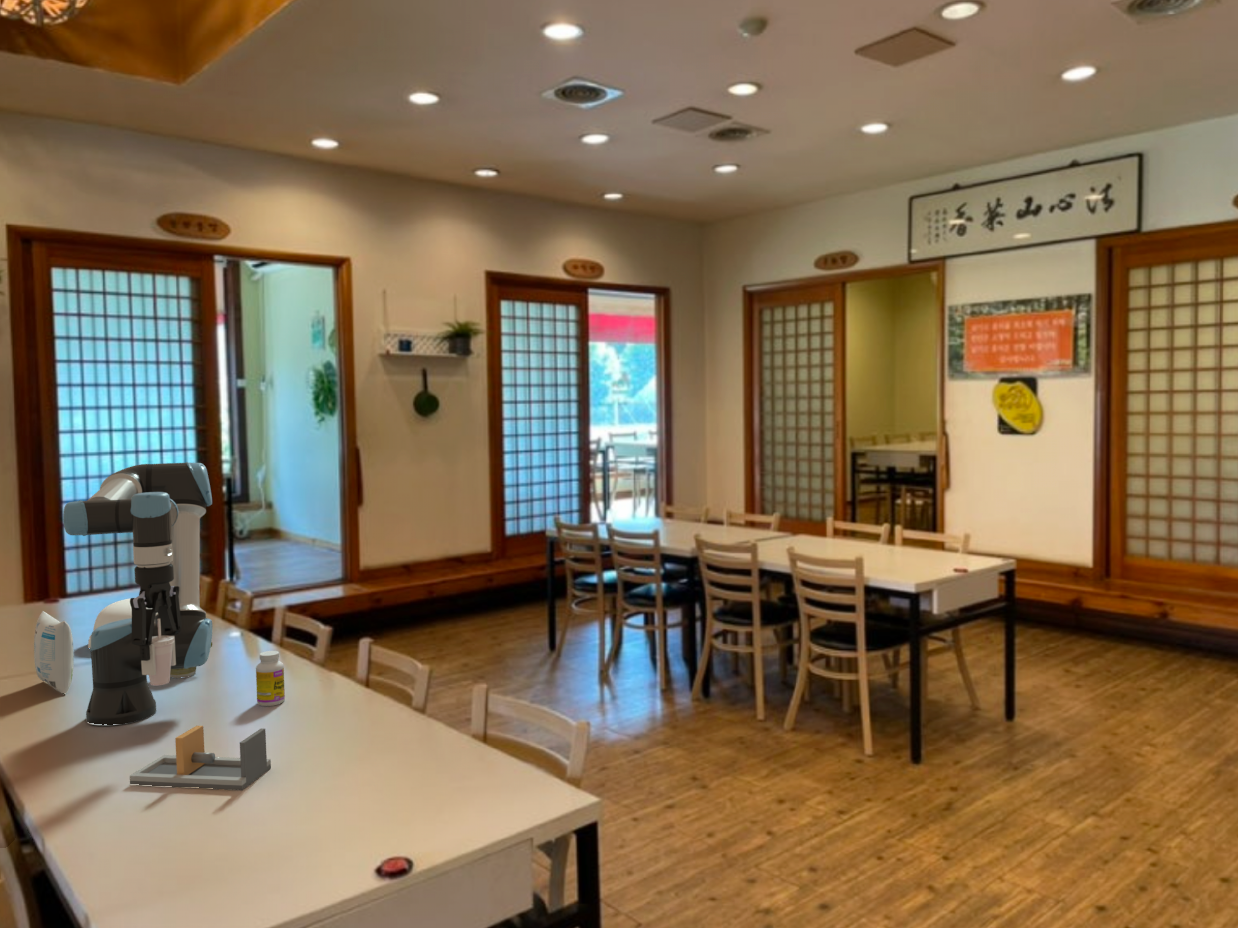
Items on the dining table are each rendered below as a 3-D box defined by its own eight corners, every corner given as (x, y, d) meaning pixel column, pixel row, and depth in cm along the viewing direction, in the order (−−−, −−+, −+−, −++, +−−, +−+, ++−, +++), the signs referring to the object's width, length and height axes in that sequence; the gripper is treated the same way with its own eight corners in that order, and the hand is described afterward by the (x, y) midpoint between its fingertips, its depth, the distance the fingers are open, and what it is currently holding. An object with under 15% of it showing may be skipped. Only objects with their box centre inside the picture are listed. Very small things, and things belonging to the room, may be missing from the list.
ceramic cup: (163, 682, 254) (161, 646, 253) (162, 673, 263) (161, 638, 262) (214, 675, 260) (213, 640, 259) (212, 666, 269) (210, 632, 268)
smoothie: (183, 679, 202) (179, 616, 201) (159, 688, 196) (156, 623, 195) (160, 677, 204) (157, 615, 203) (136, 686, 198) (133, 621, 197)
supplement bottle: (275, 707, 231) (273, 657, 230) (251, 706, 232) (249, 656, 231) (290, 699, 237) (288, 650, 236) (267, 698, 238) (264, 649, 238)
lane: (130, 785, 184) (127, 741, 183) (164, 764, 195) (162, 722, 194) (242, 790, 181) (240, 745, 180) (270, 768, 191) (269, 726, 191)
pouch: (47, 699, 241) (42, 624, 239) (31, 684, 254) (26, 612, 253) (81, 692, 246) (77, 618, 245) (63, 678, 260) (59, 608, 259)
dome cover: (132, 629, 319) (130, 588, 318) (212, 630, 314) (210, 590, 313) (63, 653, 287) (60, 609, 286) (150, 656, 282) (148, 611, 281)
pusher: (177, 777, 184) (175, 738, 184) (198, 763, 192) (196, 725, 191) (202, 778, 184) (200, 739, 183) (223, 764, 191) (221, 726, 190)
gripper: (140, 572, 188) (146, 683, 190) (196, 556, 207) (201, 657, 209) (107, 572, 189) (113, 682, 191) (165, 556, 208) (170, 657, 210)
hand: (159, 669), depth 200 cm, fingers closed on smoothie, 6 cm apart
